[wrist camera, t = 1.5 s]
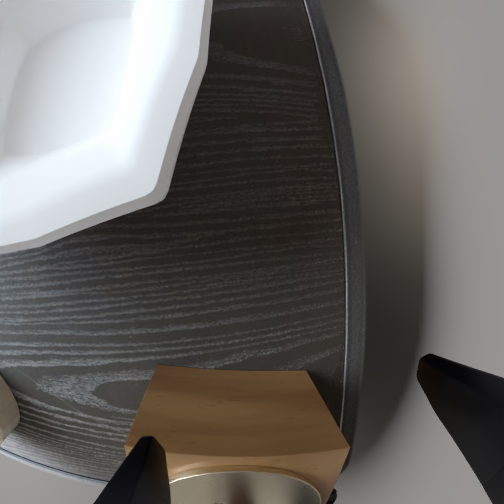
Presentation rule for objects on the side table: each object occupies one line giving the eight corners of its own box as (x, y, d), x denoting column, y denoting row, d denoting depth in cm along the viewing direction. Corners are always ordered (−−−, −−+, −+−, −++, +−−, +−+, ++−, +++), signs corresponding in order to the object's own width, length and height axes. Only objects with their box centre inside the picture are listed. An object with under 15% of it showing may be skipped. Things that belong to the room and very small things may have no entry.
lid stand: (286, 464, 21) (308, 536, 12) (167, 461, 20) (154, 536, 11) (306, 369, 20) (350, 447, 11) (157, 364, 19) (123, 445, 10)
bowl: (223, -29, 16) (228, -111, 6) (216, 238, 19) (207, 259, 8) (11, 25, 14) (-34, -17, 3) (-30, 249, 16) (-110, 263, 6)
